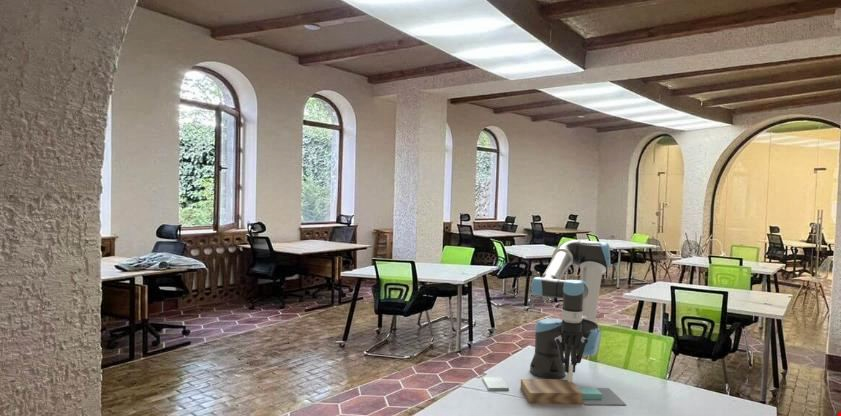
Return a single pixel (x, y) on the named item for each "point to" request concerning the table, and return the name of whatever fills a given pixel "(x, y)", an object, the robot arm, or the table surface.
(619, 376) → the table surface
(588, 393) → the teal foam pad
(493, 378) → the hard drive
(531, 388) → the deck
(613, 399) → the mat
